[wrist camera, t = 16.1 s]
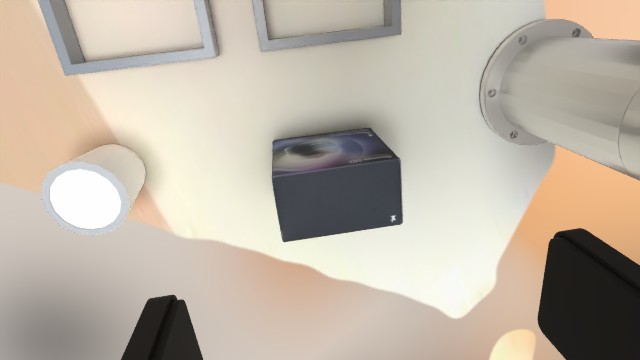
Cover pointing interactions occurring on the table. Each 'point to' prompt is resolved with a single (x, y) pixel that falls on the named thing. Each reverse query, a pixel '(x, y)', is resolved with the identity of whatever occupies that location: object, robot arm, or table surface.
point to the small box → (335, 184)
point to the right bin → (390, 21)
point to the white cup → (94, 189)
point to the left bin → (75, 64)
